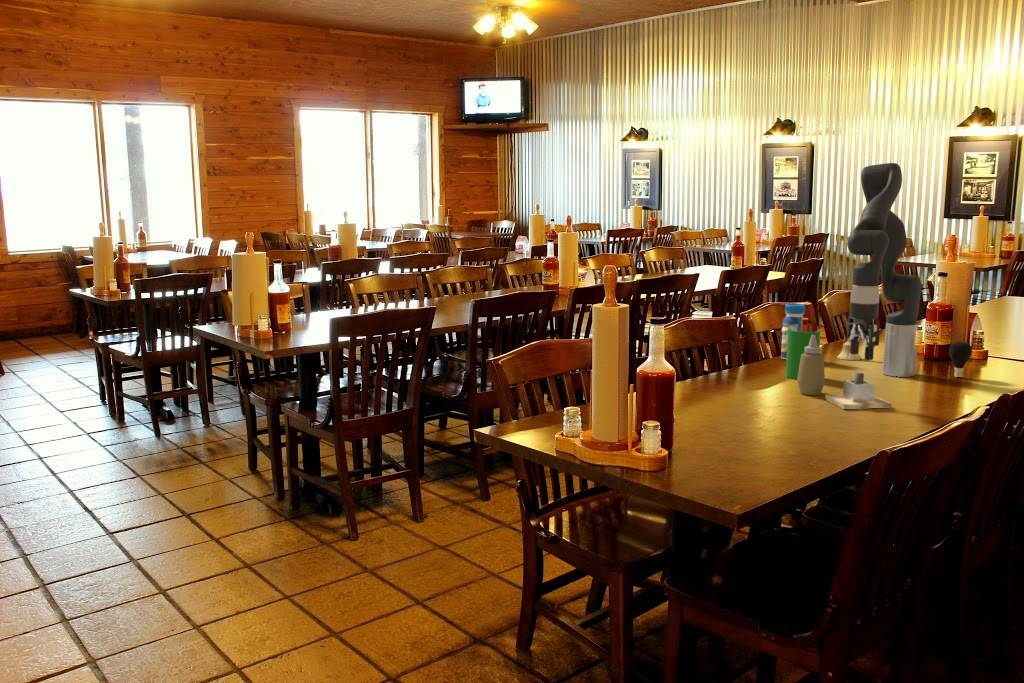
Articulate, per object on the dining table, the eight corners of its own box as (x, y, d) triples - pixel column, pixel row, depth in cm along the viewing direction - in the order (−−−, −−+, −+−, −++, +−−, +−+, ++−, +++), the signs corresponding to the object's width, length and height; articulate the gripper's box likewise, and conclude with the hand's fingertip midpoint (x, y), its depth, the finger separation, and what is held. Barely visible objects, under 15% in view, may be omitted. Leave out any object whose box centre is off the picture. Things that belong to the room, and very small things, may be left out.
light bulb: (947, 378, 288) (950, 342, 286) (946, 374, 294) (949, 339, 292) (970, 380, 286) (974, 344, 283) (968, 376, 292) (971, 340, 290)
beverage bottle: (807, 361, 317) (810, 306, 313) (784, 361, 317) (786, 306, 314) (800, 356, 325) (803, 302, 322) (777, 356, 325) (780, 303, 322)
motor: (814, 374, 296) (818, 315, 292) (821, 380, 287) (824, 319, 284) (783, 374, 297) (786, 315, 293) (789, 380, 288) (792, 319, 285)
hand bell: (834, 355, 327) (837, 313, 324) (858, 356, 326) (861, 313, 323) (839, 360, 319) (842, 316, 316) (863, 360, 318) (866, 316, 315)
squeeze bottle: (825, 391, 272) (829, 334, 268) (822, 397, 264) (826, 338, 261) (798, 389, 275) (801, 332, 272) (794, 395, 268) (797, 336, 265)
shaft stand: (870, 398, 263) (872, 368, 262) (891, 408, 252) (893, 377, 250) (825, 399, 262) (826, 369, 260) (844, 409, 250) (846, 378, 249)
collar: (862, 396, 260) (863, 379, 259) (872, 401, 254) (874, 384, 253) (843, 396, 259) (844, 380, 258) (852, 401, 253) (854, 384, 252)
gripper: (890, 304, 245) (886, 361, 248) (864, 297, 259) (861, 351, 262) (864, 304, 244) (860, 362, 247) (840, 297, 258) (837, 352, 261)
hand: (861, 356), depth 254 cm, fingers open, 8 cm apart
